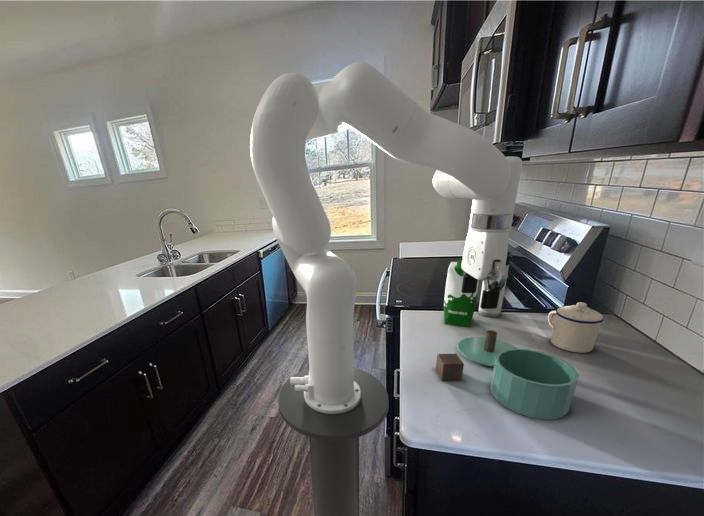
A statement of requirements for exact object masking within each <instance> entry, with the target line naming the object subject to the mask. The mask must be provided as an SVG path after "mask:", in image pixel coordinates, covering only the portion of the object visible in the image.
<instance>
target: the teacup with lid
mask: <svg viewBox="0 0 704 516" xmlns="http://www.w3.org/2000/svg"><path fill="white" fill-rule="evenodd" d="M554 315H555V318H554ZM554 319H555V320H554ZM547 320H548V321H547V322H548V324H549V326H550V327H551V328H552V332H551V336H550V343H551V344H552V345H554V346H555V347H557V348H559V349H562V350H564V351H568V352H572V353H579V354H581V353H590V352H592V351H593V350H594V347H595V344H596V341H597V337H598V334H599V330H600V327H601V324H602V322H603V321H604V316H603V314H602V313H600V312H599V311H597V310H594V309H592V308H591V307H589V306H588V303H586V302H581V301H578V302H577V303H576V304H572V305H564V306H560V307H559V308H557V309H556V310H551V311H550V312H549V313H548V315H547Z"/></svg>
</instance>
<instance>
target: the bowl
mask: <svg viewBox="0 0 704 516" xmlns="http://www.w3.org/2000/svg"><path fill="white" fill-rule="evenodd" d="M579 377H580V375H579V373H578V371H577V369H576V368H575V367H574V366H572V365H571V364H570V363H568V362H567V361H565V360H564V359H562V358H559V357H557V356H556V355H552V354H549V353H546V352H544V351H540V350H533V349H530V348H529V349H528V348H517V349H508V350H504V351H501V352H499V353H498V354H497V356H496V358H495V363H494V367H493V369H492V375H491V381H490V393H491V395H492V396H493V398H494V399H495V400H496V401H497V402H498V403H499V404H500V405H502V406H503V407H505V408H507V409H509V410H510V411H512V412H515V413H517V414H519V415H521V416H525V417H528V418H532V419H537V420H547V421H548V420H550V421H551V420H558V419H561V418H564V417H565V416H566V415H567V414H568V413H569V411H570V407H571V404H572V401H573V397H574V395H575V394H574V393H575V391H576V387H577V384H578V381H579Z"/></svg>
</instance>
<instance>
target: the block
mask: <svg viewBox="0 0 704 516" xmlns="http://www.w3.org/2000/svg"><path fill="white" fill-rule="evenodd" d="M464 365H465V364H464V362H463V360H462V359H461V357H459V355H458V354H457V353H437V354H436V361H435V371H436V374H437V375H438V377H439V379H440V380H441V381H445V382H446V381H447V382H448V381H449V382H450V381H455V382H456V381H457V382H458V381H462V380H463V373H464V367H465V366H464Z"/></svg>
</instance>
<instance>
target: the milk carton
mask: <svg viewBox="0 0 704 516" xmlns="http://www.w3.org/2000/svg"><path fill="white" fill-rule="evenodd" d="M461 264H462V258H458V259H457V260H456V261H450V263H449V266H448V269H447V273H446V275H447V276H446V281H445V287H444V289H445V290H444V299H443V319H444V324H445V325H451V326H460V327H467V328H470V327H471V324H472V320H473V316H474V314H475V310H476V305H477V299H478V291H479V286H480V285H479V284H480V283H479V282H480V280H478V282H477V288H476V292H475V293H462V292H461V289H462V282H463V277H465V276H463V271H464V270H463V269H462V268H461Z"/></svg>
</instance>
